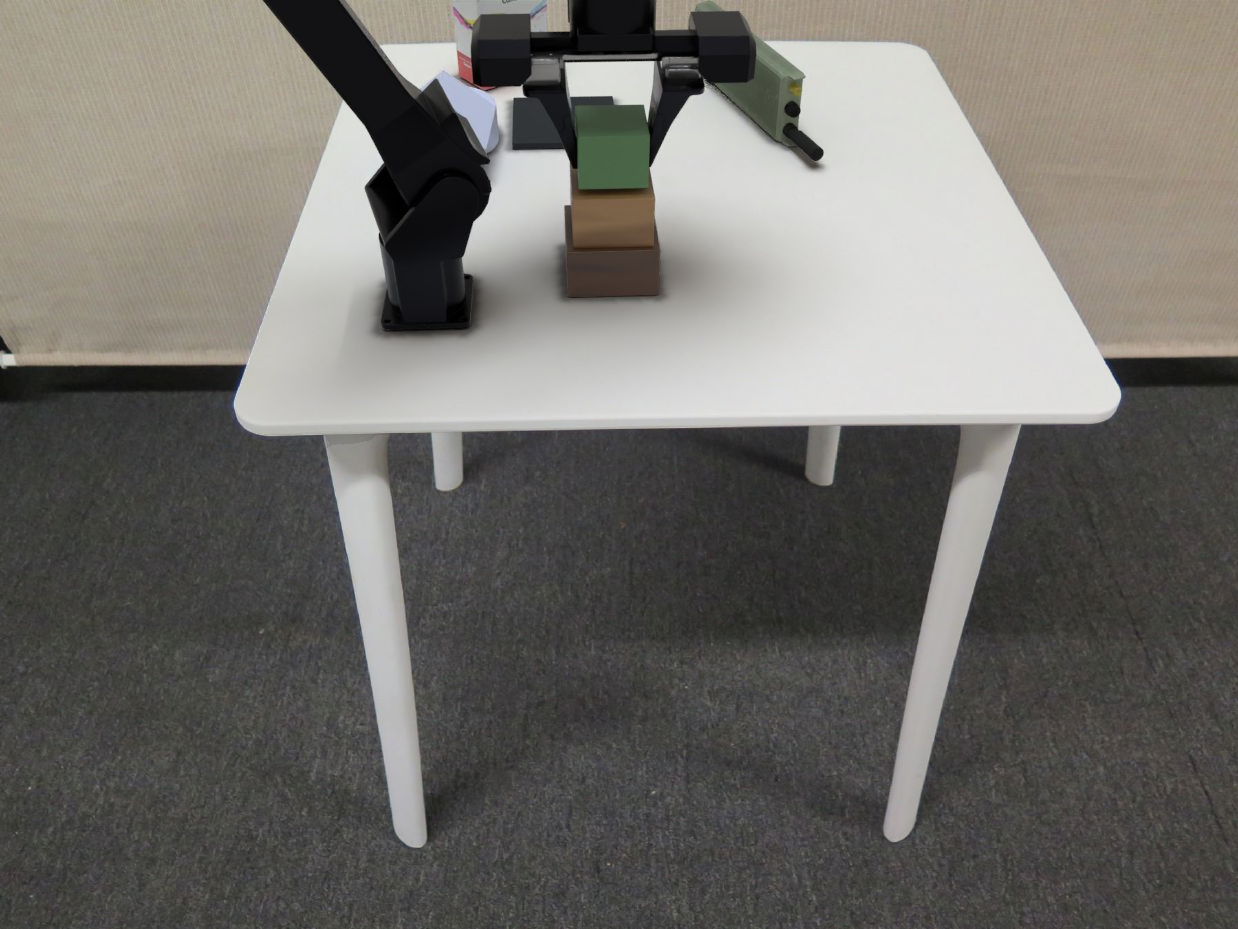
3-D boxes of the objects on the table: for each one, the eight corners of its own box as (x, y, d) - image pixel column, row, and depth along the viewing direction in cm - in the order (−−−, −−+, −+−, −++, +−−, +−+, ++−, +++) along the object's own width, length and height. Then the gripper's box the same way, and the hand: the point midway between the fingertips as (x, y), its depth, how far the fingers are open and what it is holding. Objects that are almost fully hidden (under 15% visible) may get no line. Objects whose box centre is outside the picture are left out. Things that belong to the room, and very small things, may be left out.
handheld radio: (716, 61, 110) (833, 164, 93) (688, 67, 109) (801, 172, 93) (718, -2, 105) (842, 94, 89) (689, 3, 105) (809, 101, 88)
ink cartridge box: (484, 92, 104) (471, -63, 94) (457, 77, 107) (442, -76, 96) (551, 71, 108) (546, -80, 98) (524, 56, 111) (516, -92, 100)
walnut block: (658, 295, 78) (660, 250, 75) (567, 297, 78) (566, 252, 75) (650, 246, 83) (652, 202, 80) (565, 248, 83) (564, 204, 80)
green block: (648, 188, 73) (649, 135, 70) (578, 189, 72) (577, 136, 70) (642, 155, 76) (644, 104, 74) (576, 156, 76) (575, 105, 73)
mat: (618, 147, 96) (618, 141, 95) (512, 149, 95) (512, 143, 95) (612, 101, 103) (612, 95, 102) (513, 102, 102) (513, 97, 102)
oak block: (653, 246, 76) (655, 198, 73) (572, 248, 75) (571, 200, 72) (646, 205, 80) (648, 158, 77) (570, 207, 80) (569, 160, 77)
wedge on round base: (489, 185, 90) (503, 119, 99) (482, 112, 85) (498, 50, 95) (387, 183, 90) (411, 118, 99) (376, 110, 85) (402, 49, 95)
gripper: (741, -105, 70) (723, 114, 80) (468, -103, 69) (487, 118, 79) (769, -52, 61) (744, 183, 72) (460, -49, 61) (482, 189, 71)
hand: (611, 165), depth 74 cm, fingers closed on green block, 5 cm apart
